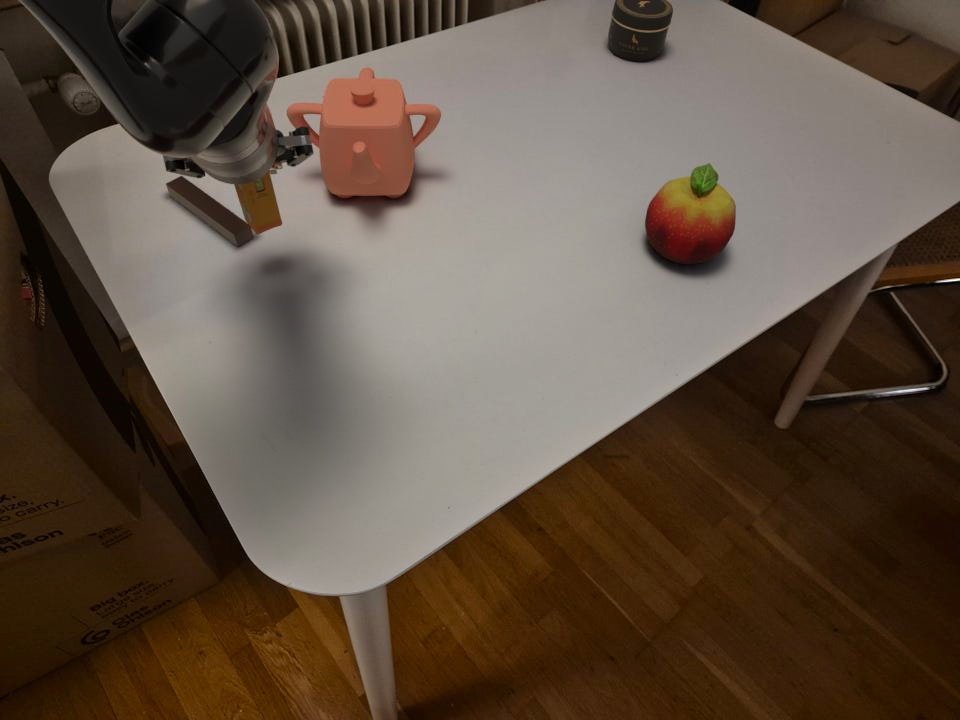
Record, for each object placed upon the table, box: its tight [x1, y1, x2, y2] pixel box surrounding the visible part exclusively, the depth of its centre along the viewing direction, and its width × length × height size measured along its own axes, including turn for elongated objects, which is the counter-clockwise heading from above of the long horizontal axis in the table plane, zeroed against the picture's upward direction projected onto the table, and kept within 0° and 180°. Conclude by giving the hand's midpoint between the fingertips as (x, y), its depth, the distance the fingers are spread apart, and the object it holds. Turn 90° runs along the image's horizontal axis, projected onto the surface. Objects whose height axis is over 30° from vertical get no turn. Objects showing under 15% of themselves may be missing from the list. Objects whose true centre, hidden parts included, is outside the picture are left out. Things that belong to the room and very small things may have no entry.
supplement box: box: [233, 171, 283, 236], centre depth 71 cm, size 3×3×10 cm
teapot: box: [286, 67, 442, 199], centre depth 85 cm, size 17×16×13 cm
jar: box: [607, 0, 674, 62], centre depth 114 cm, size 10×10×8 cm
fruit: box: [644, 162, 737, 265], centre depth 82 cm, size 11×11×10 cm
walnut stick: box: [165, 175, 255, 248], centre depth 83 cm, size 2×14×2 cm, turn 50°
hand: (249, 167), depth 71 cm, fingers closed on supplement box, 4 cm apart
